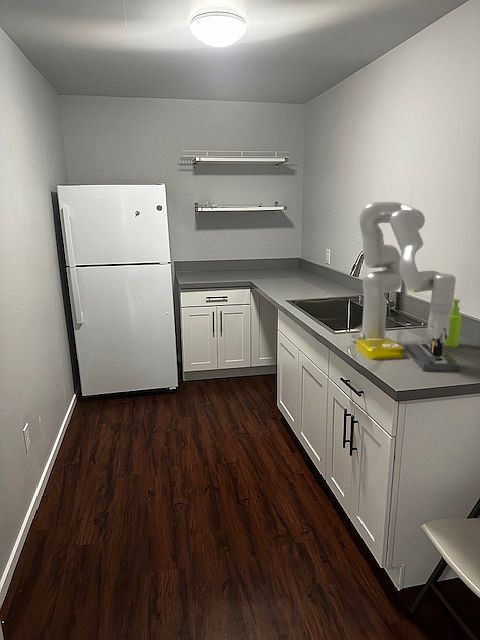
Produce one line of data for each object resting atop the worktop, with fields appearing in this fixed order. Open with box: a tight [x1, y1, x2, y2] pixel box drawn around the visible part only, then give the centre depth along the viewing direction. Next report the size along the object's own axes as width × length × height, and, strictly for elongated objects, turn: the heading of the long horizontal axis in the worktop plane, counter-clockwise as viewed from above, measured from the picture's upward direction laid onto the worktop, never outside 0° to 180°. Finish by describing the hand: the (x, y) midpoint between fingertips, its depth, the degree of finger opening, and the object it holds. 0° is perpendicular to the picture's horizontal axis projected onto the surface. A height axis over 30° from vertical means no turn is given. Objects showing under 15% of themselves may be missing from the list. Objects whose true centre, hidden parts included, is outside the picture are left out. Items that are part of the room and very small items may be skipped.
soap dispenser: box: [443, 298, 463, 348], centre depth 194 cm, size 6×7×20 cm
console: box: [404, 342, 461, 373], centre depth 177 cm, size 13×24×4 cm, turn 176°
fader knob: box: [432, 341, 440, 359], centre depth 171 cm, size 3×4×6 cm
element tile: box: [355, 337, 405, 360], centre depth 186 cm, size 15×15×5 cm
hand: (435, 354), depth 172 cm, fingers closed on fader knob, 2 cm apart
